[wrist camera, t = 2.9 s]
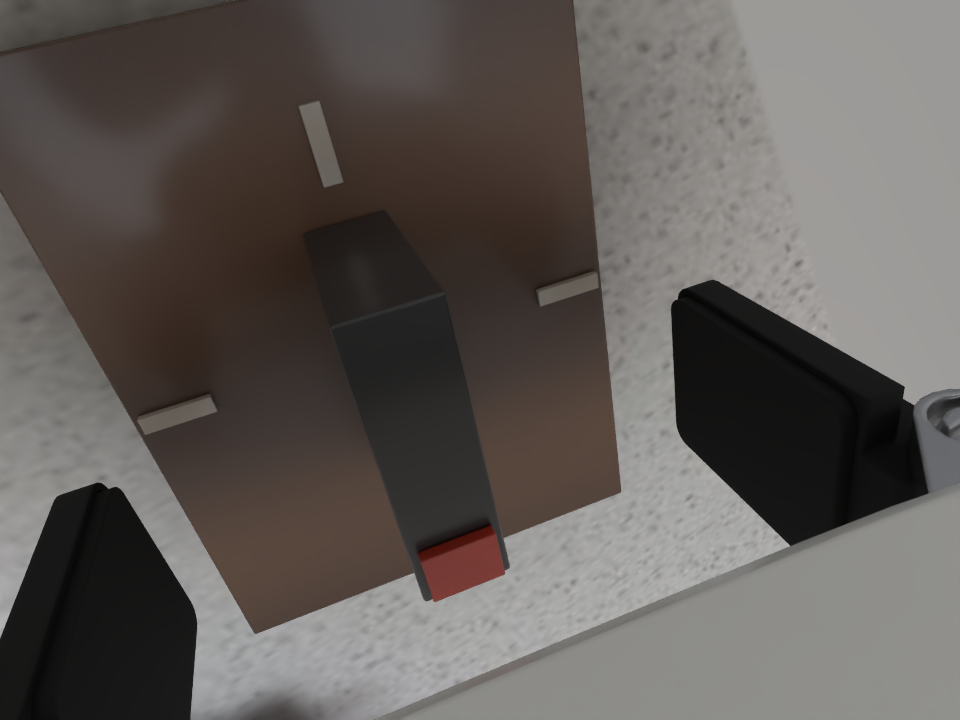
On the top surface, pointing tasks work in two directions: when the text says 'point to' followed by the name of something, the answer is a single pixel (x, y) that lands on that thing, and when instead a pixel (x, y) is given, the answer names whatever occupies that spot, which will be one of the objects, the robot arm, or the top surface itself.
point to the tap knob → (411, 399)
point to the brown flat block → (286, 265)
